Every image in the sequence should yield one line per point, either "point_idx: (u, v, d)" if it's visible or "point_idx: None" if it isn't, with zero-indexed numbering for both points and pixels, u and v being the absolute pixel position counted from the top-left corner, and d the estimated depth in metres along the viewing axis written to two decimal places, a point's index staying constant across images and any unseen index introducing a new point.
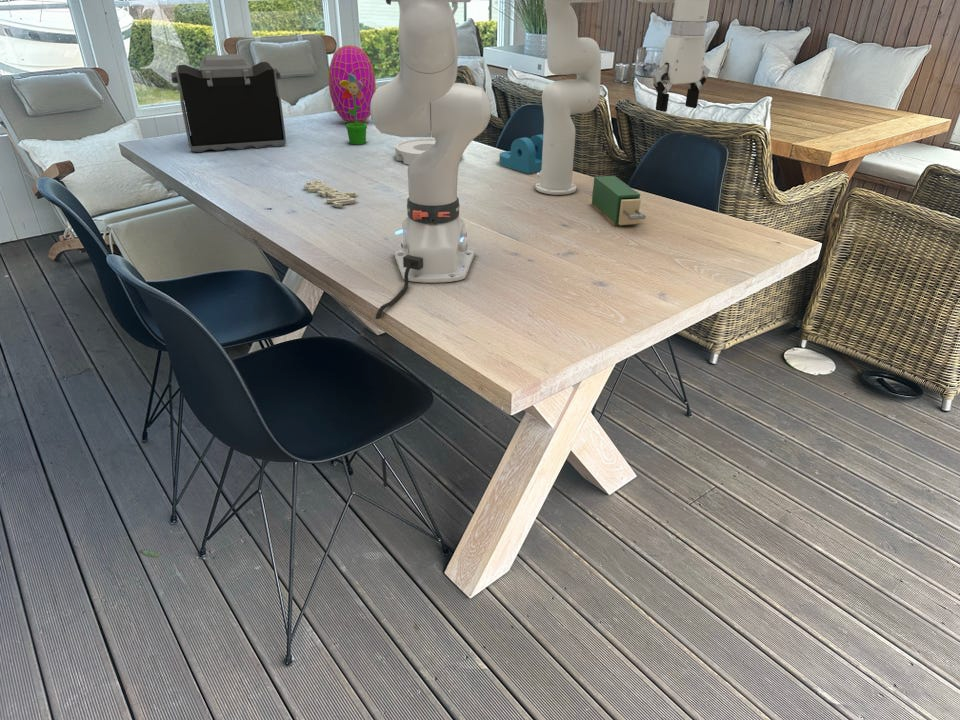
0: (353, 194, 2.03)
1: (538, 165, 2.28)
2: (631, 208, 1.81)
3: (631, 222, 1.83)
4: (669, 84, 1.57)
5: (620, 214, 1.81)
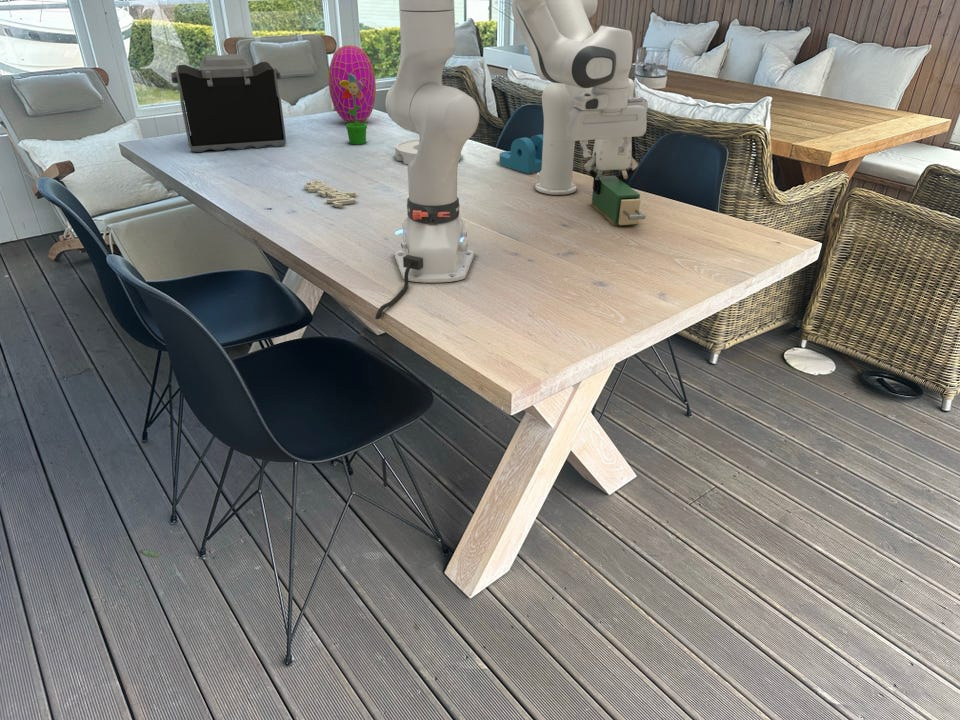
0: (353, 194, 2.03)
1: (538, 165, 2.28)
2: (631, 208, 1.81)
3: (631, 222, 1.83)
4: (599, 172, 1.90)
5: (620, 214, 1.81)
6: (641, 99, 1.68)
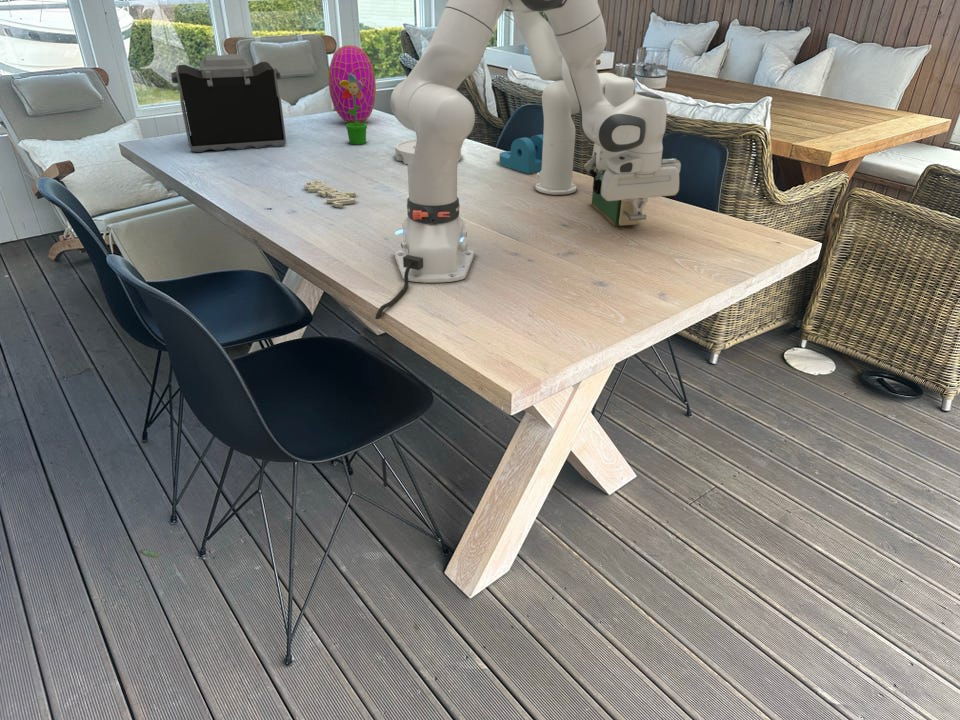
0: (353, 194, 2.03)
1: (538, 165, 2.28)
2: (631, 208, 1.81)
3: (631, 222, 1.83)
4: (599, 172, 1.89)
5: (620, 214, 1.81)
6: (674, 161, 1.73)
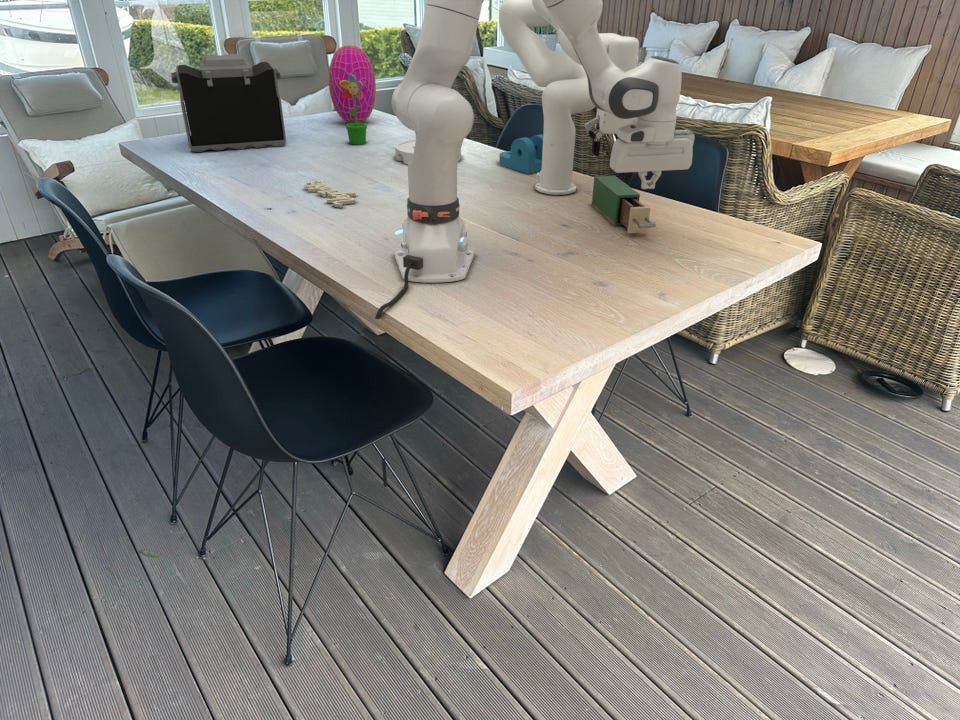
0: (353, 194, 2.03)
1: (538, 165, 2.28)
2: (641, 216, 1.75)
3: (641, 230, 1.77)
4: (600, 133, 1.84)
5: (629, 222, 1.76)
6: (688, 132, 1.64)
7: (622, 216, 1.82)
